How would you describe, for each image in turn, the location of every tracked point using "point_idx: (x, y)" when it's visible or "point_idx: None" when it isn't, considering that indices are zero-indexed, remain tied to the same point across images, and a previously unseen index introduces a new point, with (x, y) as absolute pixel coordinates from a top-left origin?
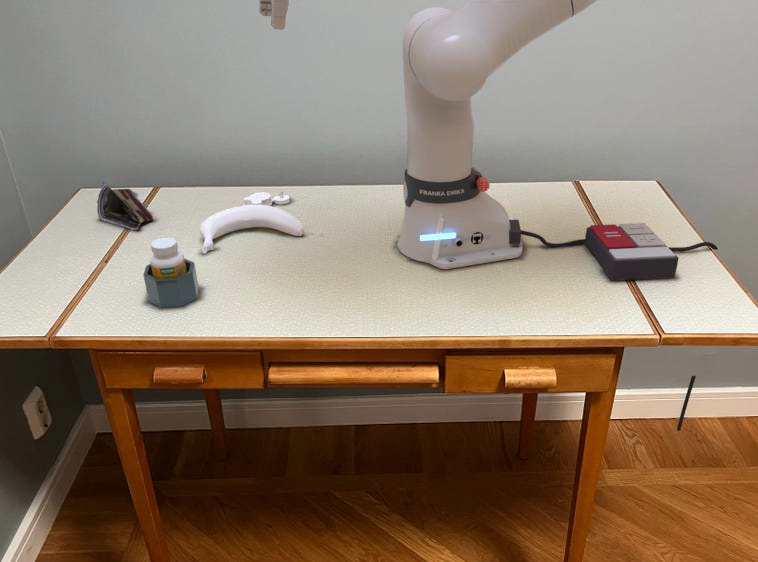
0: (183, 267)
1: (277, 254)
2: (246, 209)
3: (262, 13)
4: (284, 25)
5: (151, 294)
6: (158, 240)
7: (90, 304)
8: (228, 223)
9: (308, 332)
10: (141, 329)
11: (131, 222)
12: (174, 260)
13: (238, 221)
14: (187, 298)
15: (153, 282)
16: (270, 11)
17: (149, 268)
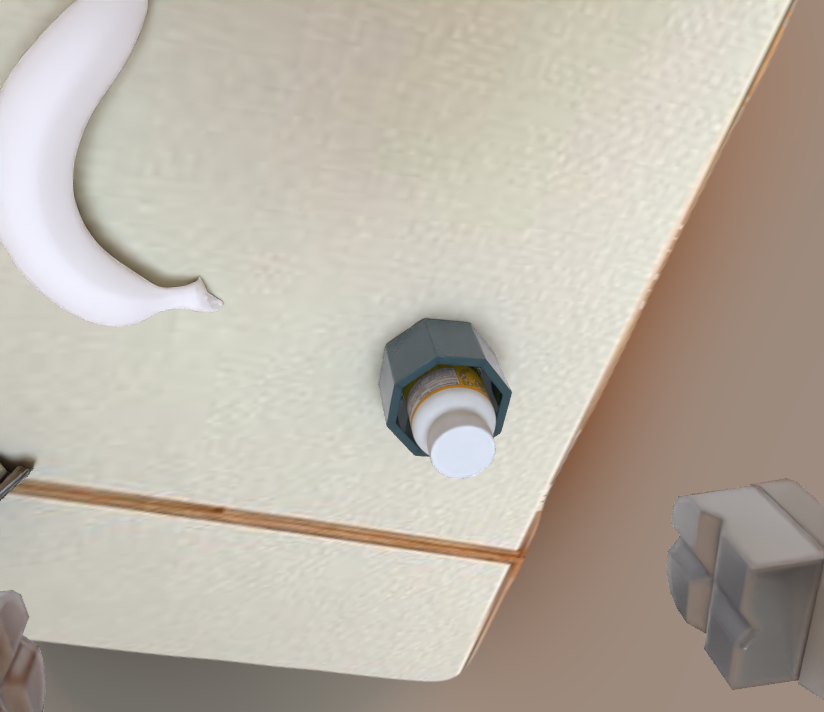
0: (472, 382)
1: (271, 95)
2: (39, 188)
3: (41, 694)
4: (808, 497)
5: None
6: (444, 465)
7: (417, 515)
8: (90, 242)
9: (730, 81)
10: (555, 422)
11: (12, 488)
12: (490, 412)
13: (76, 210)
14: (487, 347)
15: None
16: (2, 634)
17: None
